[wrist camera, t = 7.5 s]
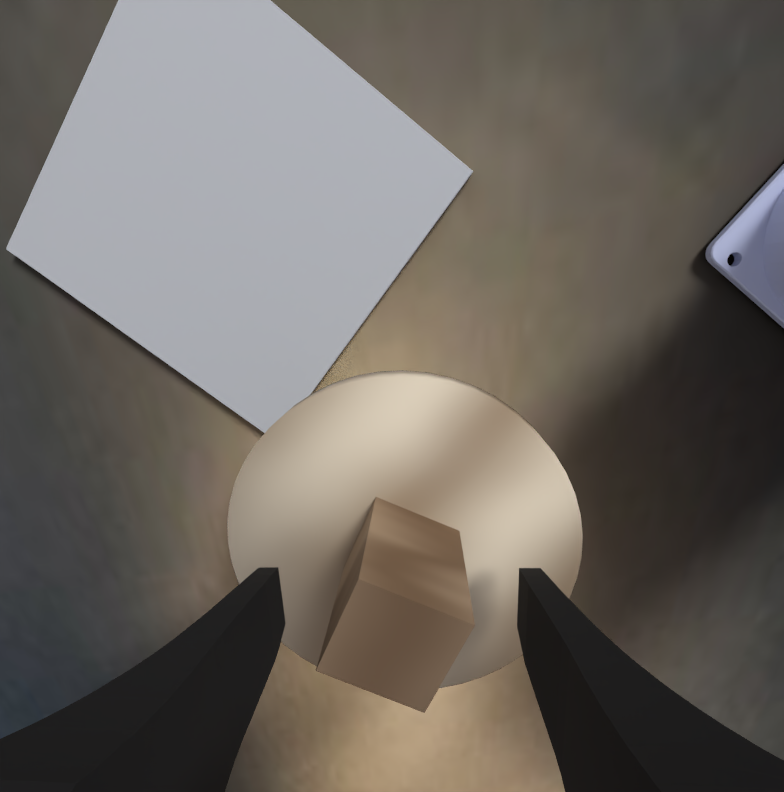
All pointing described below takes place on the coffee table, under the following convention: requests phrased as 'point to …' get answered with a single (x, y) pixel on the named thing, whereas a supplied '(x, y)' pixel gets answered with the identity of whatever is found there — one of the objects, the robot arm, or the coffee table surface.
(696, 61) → the coffee table surface
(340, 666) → the lid
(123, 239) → the mat
